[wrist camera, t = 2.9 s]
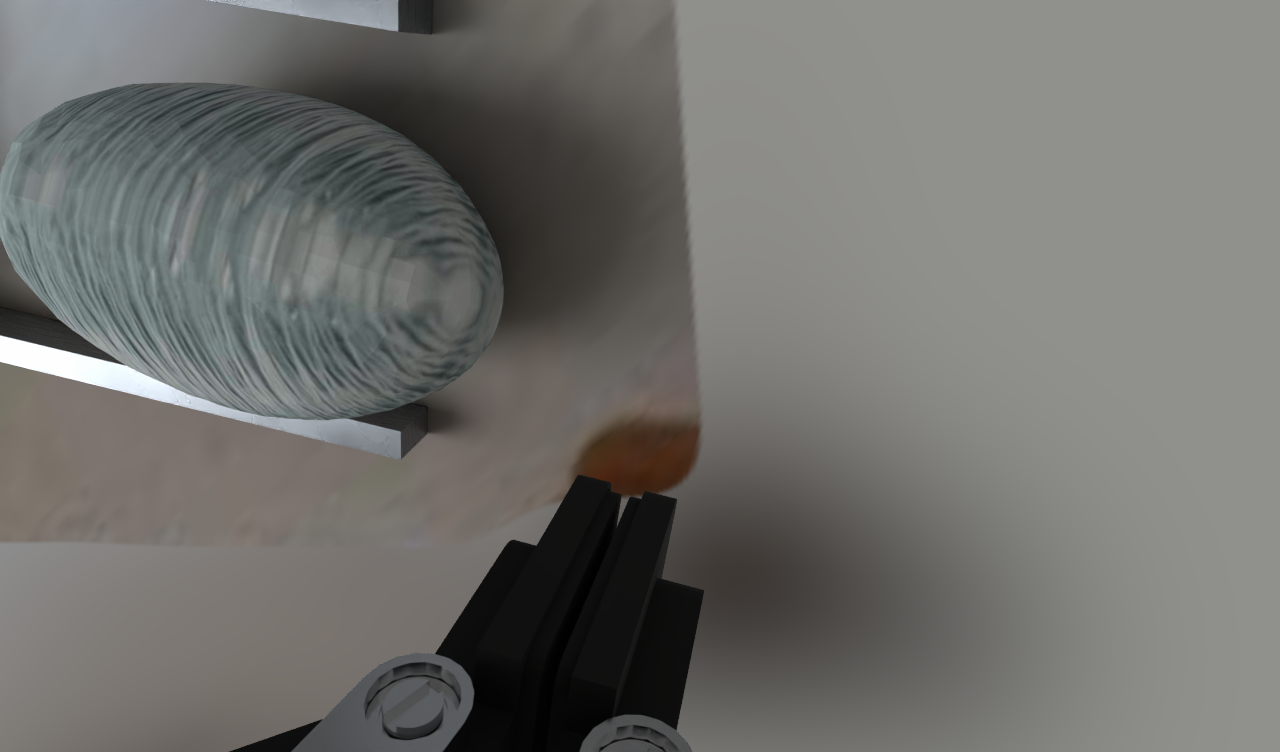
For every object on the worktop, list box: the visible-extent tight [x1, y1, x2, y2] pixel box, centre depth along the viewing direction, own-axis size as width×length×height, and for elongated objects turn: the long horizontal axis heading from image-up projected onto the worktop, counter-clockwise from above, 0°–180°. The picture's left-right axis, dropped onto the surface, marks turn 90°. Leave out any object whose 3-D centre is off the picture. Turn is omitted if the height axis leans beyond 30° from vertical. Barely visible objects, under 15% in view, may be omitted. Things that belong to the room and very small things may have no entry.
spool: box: [0, 83, 504, 420], centre depth 21 cm, size 14×10×10 cm
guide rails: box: [0, 0, 432, 460], centre depth 25 cm, size 15×22×2 cm
